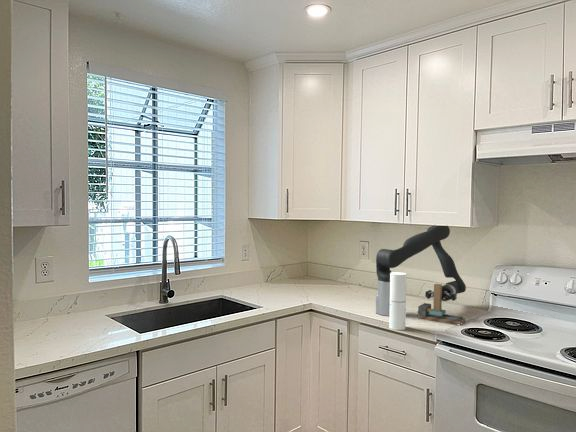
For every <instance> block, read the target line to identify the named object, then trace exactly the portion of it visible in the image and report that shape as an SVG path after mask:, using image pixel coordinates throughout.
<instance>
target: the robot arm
mask: <svg viewBox="0 0 576 432" xmlns="http://www.w3.org/2000/svg"><path fill="white" fill-rule="evenodd" d="M450 229H451V228H450V227H449V226H448V225H447V226H434V225H431V226H430V227H428V228H427V230H426V231H423V232H420V233H417V234H414V235H412V236H411V237H409V238H407V239H405V241H404V242H403V244H402V246H401V247H399V248H397V249H389V248H380V249H379V250H378V251H377V253H376V256H375V266H376V267H375V268H376V276H377V293H376V294H375V295H376V296H375V314H377V315H380V316H384V317H385V316H386V317H389V315H390V273H391V272H392V270H391V269H394V268H397V267H399V266H400V265H402V264H403V263H404V262H405V261H407V260H408V259H410V258H412V257H414V256H416V255H417V254H419V253H421V252H423V251H424V250H426V249H428V248H430V247H431V246H432V249H433V250H434V252H435V254H436V256H437V258H438V261H439V264H440V266H441V269H442V273H443V275H444V277H445V278H448V279H449V278H453V279H454V280H452V281H449V282H446V283H445V284H444V285H443V284H442V302H447V301H453V302H455V301H456V300H457V295H459V294H463V293H464V292H466V290H467V285H466V283H465V281H464V280H463V279H462V277H461V276H460V274H459V272H458V270H457V267H456V264H455V261H454V259H453V257H451V255H450V254H449V253H448V252H447V251H446V250H445V249H444V247H443V246H442V242H441V241H444V240H445V239H447V238H448V237H449V235H450V232H451V230H450ZM424 297H425V298H426V299H428V300H429V299H431V298H432V299H434V290H431V289H429V290H427V291H425V296H424Z"/></svg>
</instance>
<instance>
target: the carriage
mask: <svg viewBox="0 0 576 432" xmlns="http://www.w3.org/2000/svg"><path fill="white" fill-rule="evenodd" d="M442 286H443V284H441V283H434V284H433V291H434V298H433V308H431V309H432V310H430V311H429V314H431V315H437V316H442V315H444V314H447V310H445V309H442V307H443V306H442V303H443V301H442Z"/></svg>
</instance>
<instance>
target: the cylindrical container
mask: <svg viewBox="0 0 576 432" xmlns="http://www.w3.org/2000/svg"><path fill="white" fill-rule="evenodd" d="M406 307H407V273H406V272H402V271H401V272H400V271H399V272H398V271H393V272H392V271H391V273H390V315H389V316H388V317H389V318H388V319H389V322H388V323H389V325H388V327H389V329H391V330H394V331H403V330H406V320H407V319H406V317H407V314H406V312H407V311H406V310H407V309H406Z"/></svg>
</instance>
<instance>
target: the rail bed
mask: <svg viewBox="0 0 576 432" xmlns="http://www.w3.org/2000/svg"><path fill="white" fill-rule="evenodd" d="M427 308H430V309H432V304H431V303H427V302H426V303H425V302H424V303H422V304H420V305H418V307H417V318H418V319H419V320H425V321H432V322H436V323H441V324H449V325H455V326H458V325H457V324H461V323H463V322H464V323H465V322H466V318H464V316H459V315H452V314H447V313H445V314H444V315H442V316H437V315H431V314H429V313H427ZM464 323H463V324H464Z"/></svg>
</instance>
